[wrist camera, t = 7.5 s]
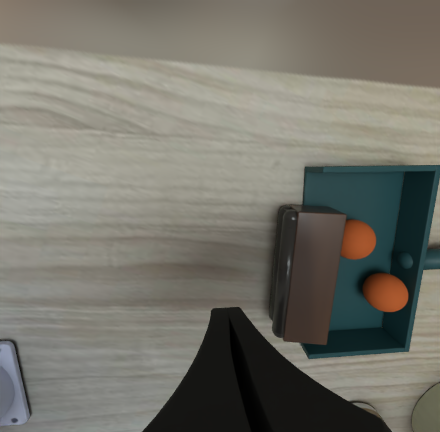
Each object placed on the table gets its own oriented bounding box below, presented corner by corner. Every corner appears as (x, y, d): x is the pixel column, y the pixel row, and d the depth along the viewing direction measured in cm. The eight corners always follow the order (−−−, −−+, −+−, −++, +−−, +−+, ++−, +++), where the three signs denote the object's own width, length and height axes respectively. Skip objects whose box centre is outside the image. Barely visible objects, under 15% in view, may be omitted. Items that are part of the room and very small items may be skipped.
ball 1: (348, 245, 20) (321, 255, 19) (349, 211, 19) (321, 220, 18) (384, 259, 17) (355, 271, 16) (387, 220, 16) (357, 231, 15)
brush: (272, 340, 18) (326, 345, 17) (285, 210, 16) (347, 214, 15) (267, 316, 21) (314, 320, 20) (278, 203, 19) (330, 206, 18)
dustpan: (294, 334, 21) (308, 359, 18) (304, 166, 18) (323, 166, 15) (450, 323, 22) (485, 345, 19) (485, 164, 19) (532, 163, 16)
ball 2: (373, 275, 18) (398, 262, 19) (347, 285, 20) (370, 274, 21) (401, 315, 16) (426, 299, 17) (370, 320, 19) (393, 306, 20)
